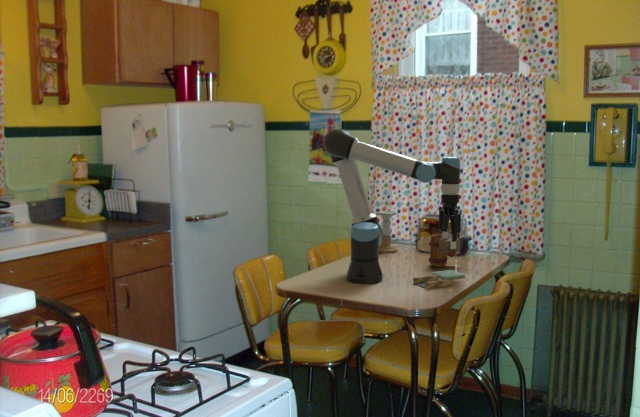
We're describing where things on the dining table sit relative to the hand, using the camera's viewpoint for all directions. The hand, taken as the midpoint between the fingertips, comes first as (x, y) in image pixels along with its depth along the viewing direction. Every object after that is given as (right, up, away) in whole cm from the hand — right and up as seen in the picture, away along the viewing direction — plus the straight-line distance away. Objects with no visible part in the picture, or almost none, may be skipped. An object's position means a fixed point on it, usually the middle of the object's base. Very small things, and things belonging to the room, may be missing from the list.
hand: (448, 247), depth 278 cm
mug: (+2, -10, +22) cm, 24 cm away
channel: (-10, -14, -13) cm, 22 cm away
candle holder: (-21, -5, +58) cm, 62 cm away
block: (0, -2, 0) cm, 2 cm away
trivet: (0, -12, +2) cm, 12 cm away
